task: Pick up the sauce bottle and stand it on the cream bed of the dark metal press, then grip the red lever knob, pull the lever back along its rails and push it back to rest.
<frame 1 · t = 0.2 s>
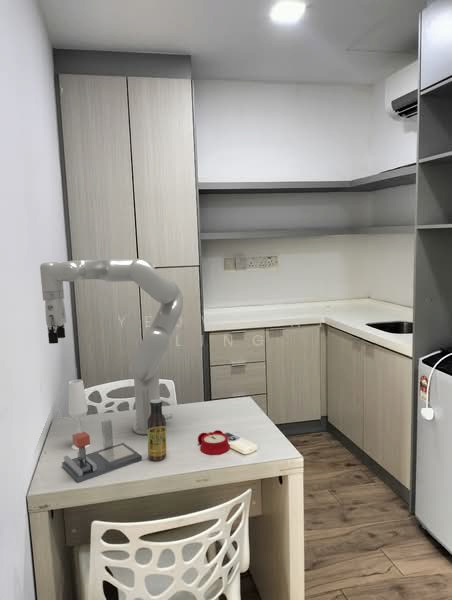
hand: (57, 340, 177), 37 cm above the table, tool pointing down, fingers open, 9 cm apart
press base: (102, 463, 156), on the table
press lever: (82, 452, 148), point 7 cm above the table, slide at 0.0 cm
alarm clock: (213, 447, 166), on the table
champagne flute: (81, 445, 171), on the table
sauce bottle: (158, 457, 159), on the table
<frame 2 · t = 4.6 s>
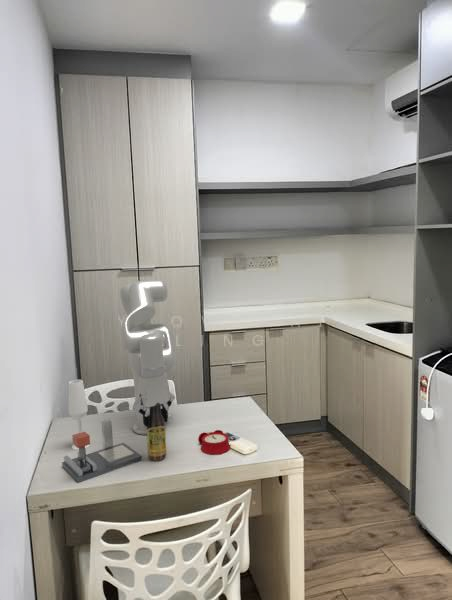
hand: (156, 423, 157), 12 cm above the table, tool pointing down, fingers closed on sauce bottle, 5 cm apart
sauce bottle: (158, 457, 159), on the table, touching gripper
everything else where it was.
when the fingers open (15 cm above the table, at t = 9.8 s): sauce bottle drops 1 cm, resting on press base.
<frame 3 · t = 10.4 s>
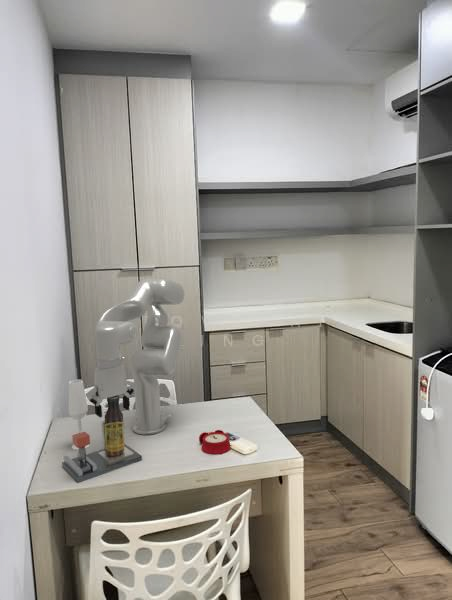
hand: (113, 412, 157), 16 cm above the table, tool pointing down, fingers open, 9 cm apart
sauce bottle: (115, 453, 159), point 2 cm above the table, touching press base
everything else where it was.
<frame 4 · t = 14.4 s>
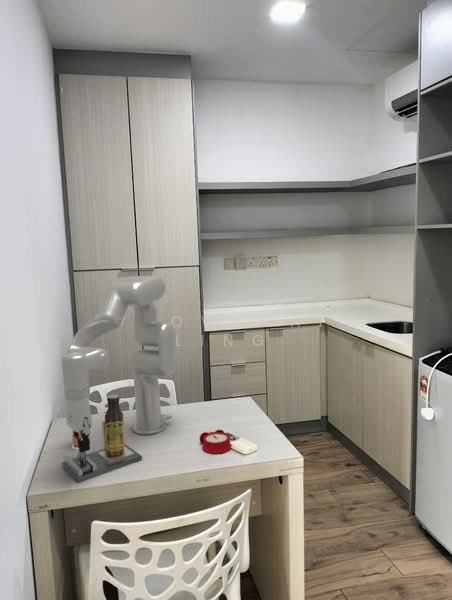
hand: (81, 447, 148), 9 cm above the table, tool pointing down, fingers closed on press lever, 4 cm apart
press lever: (82, 452, 148), point 7 cm above the table, slide at 0.0 cm, touching gripper
everything else where it was.
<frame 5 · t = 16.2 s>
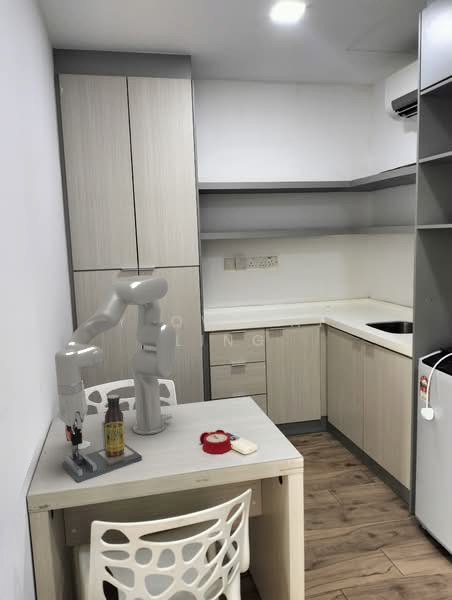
hand: (74, 441, 153), 9 cm above the table, tool pointing down, fingers closed on press lever, 4 cm apart
press lever: (74, 445, 153), point 7 cm above the table, slide at 6.5 cm, touching gripper
everything else where it was.
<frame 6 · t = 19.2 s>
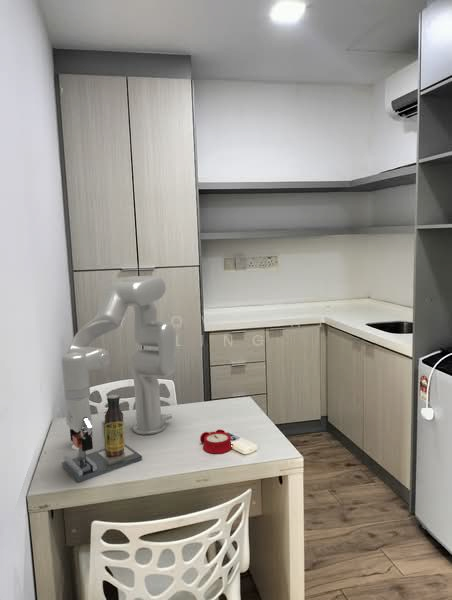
hand: (81, 444, 148), 10 cm above the table, tool pointing down, fingers open, 9 cm apart
press lever: (82, 452, 148), point 7 cm above the table, slide at 0.0 cm
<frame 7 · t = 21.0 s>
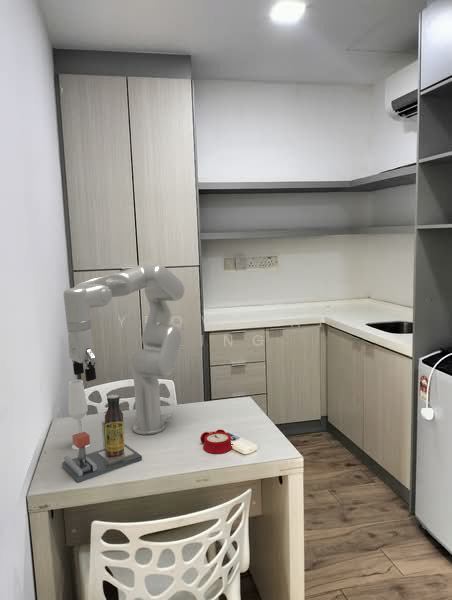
hand: (85, 377, 154), 29 cm above the table, tool pointing down, fingers open, 9 cm apart
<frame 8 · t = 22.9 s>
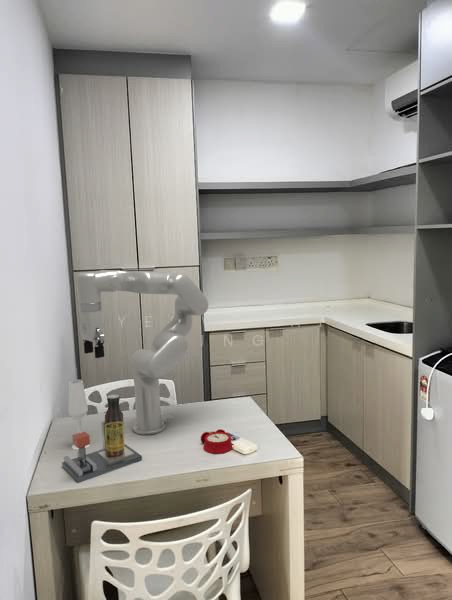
hand: (94, 355, 167), 33 cm above the table, tool pointing down, fingers open, 9 cm apart
at the end: sauce bottle 0.2 cm from the target spot on the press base, point 1.8 cm above the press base's base; sauce bottle tilted 0°; press lever slide at 0.0 cm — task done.
